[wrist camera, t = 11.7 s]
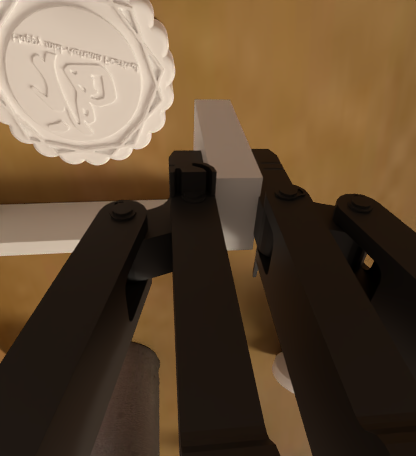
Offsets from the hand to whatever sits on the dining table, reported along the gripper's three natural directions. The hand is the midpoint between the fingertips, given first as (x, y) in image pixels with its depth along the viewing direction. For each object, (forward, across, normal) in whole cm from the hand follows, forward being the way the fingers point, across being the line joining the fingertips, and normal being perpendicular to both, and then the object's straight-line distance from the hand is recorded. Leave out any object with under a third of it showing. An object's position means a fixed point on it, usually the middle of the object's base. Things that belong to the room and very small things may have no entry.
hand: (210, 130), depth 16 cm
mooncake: (+12, -7, 0) cm, 14 cm away
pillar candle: (+11, -9, -35) cm, 38 cm away
